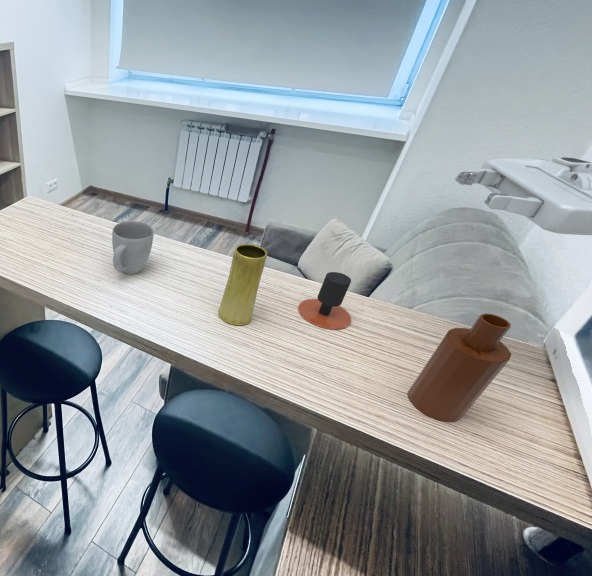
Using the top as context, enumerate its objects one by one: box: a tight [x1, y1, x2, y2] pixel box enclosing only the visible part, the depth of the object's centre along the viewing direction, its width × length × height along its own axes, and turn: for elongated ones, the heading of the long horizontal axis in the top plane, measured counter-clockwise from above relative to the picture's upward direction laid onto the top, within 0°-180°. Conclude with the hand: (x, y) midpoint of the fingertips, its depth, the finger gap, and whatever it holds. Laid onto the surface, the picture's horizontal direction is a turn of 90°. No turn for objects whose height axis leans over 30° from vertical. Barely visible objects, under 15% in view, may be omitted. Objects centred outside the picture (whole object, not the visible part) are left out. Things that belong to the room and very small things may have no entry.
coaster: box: [297, 298, 352, 331], centre depth 78 cm, size 9×9×1 cm
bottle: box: [407, 313, 512, 423], centre depth 56 cm, size 6×6×16 cm
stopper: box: [316, 271, 352, 316], centre depth 75 cm, size 4×4×8 cm
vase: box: [217, 243, 268, 326], centre depth 74 cm, size 6×6×14 cm
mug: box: [111, 220, 154, 275], centre depth 89 cm, size 12×9×10 cm
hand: (472, 188), depth 60 cm, fingers open, 8 cm apart
